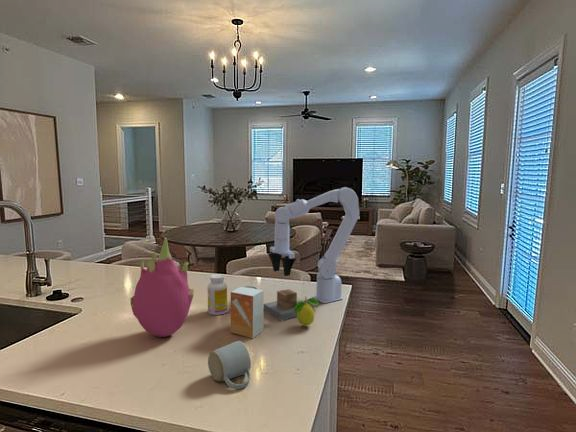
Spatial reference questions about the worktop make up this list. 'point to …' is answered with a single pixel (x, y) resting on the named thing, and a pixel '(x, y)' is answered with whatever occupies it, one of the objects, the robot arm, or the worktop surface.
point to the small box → (247, 311)
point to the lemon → (305, 312)
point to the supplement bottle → (217, 295)
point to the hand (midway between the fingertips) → (281, 273)
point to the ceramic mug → (230, 363)
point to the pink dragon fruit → (162, 295)
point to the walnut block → (286, 299)
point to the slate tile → (280, 311)
